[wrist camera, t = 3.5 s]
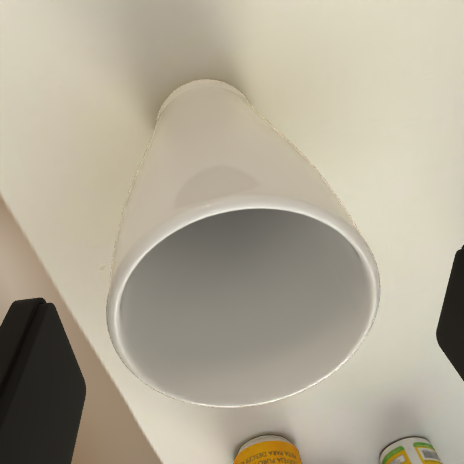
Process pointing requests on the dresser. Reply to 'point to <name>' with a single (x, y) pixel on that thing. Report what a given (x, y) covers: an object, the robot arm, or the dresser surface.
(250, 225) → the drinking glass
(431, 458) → the supplement bottle
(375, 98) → the dresser surface
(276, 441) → the beer can
